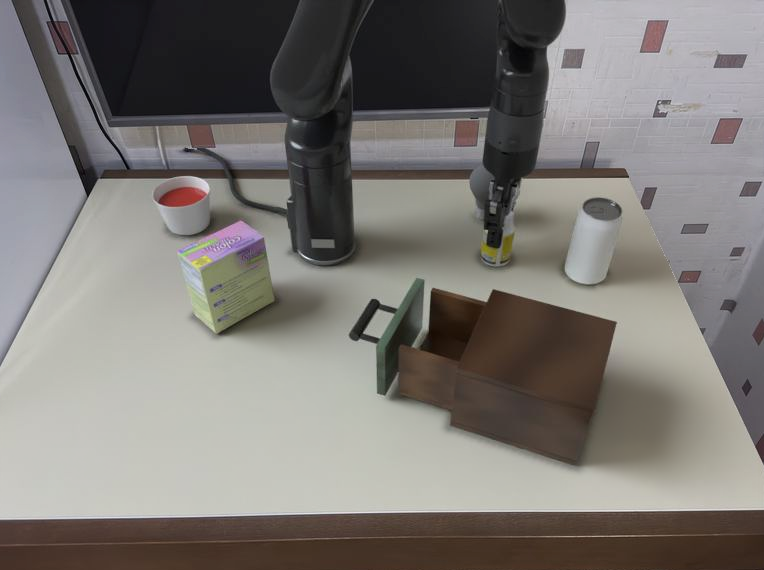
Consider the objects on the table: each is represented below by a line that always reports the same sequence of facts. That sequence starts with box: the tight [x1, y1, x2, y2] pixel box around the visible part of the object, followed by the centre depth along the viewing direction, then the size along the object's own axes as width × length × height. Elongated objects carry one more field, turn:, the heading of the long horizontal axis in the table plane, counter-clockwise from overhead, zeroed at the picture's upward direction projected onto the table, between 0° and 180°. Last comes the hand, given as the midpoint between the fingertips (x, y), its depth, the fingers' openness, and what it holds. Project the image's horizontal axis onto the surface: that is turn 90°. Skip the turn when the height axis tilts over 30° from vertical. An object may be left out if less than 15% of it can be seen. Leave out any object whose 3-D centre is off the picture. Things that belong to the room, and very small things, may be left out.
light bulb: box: [468, 163, 495, 221], centre depth 112 cm, size 6×6×10 cm
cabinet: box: [449, 288, 618, 467], centre depth 83 cm, size 16×15×11 cm
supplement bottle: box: [480, 207, 516, 268], centre depth 105 cm, size 5×5×8 cm
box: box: [176, 220, 276, 335], centre depth 94 cm, size 10×6×12 cm, turn 135°
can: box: [564, 196, 623, 286], centre depth 101 cm, size 6×6×12 cm
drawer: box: [348, 277, 487, 411], centre depth 87 cm, size 20×14×9 cm
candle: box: [151, 175, 211, 236], centre depth 110 cm, size 9×9×6 cm
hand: (498, 236), depth 104 cm, fingers closed on supplement bottle, 4 cm apart
